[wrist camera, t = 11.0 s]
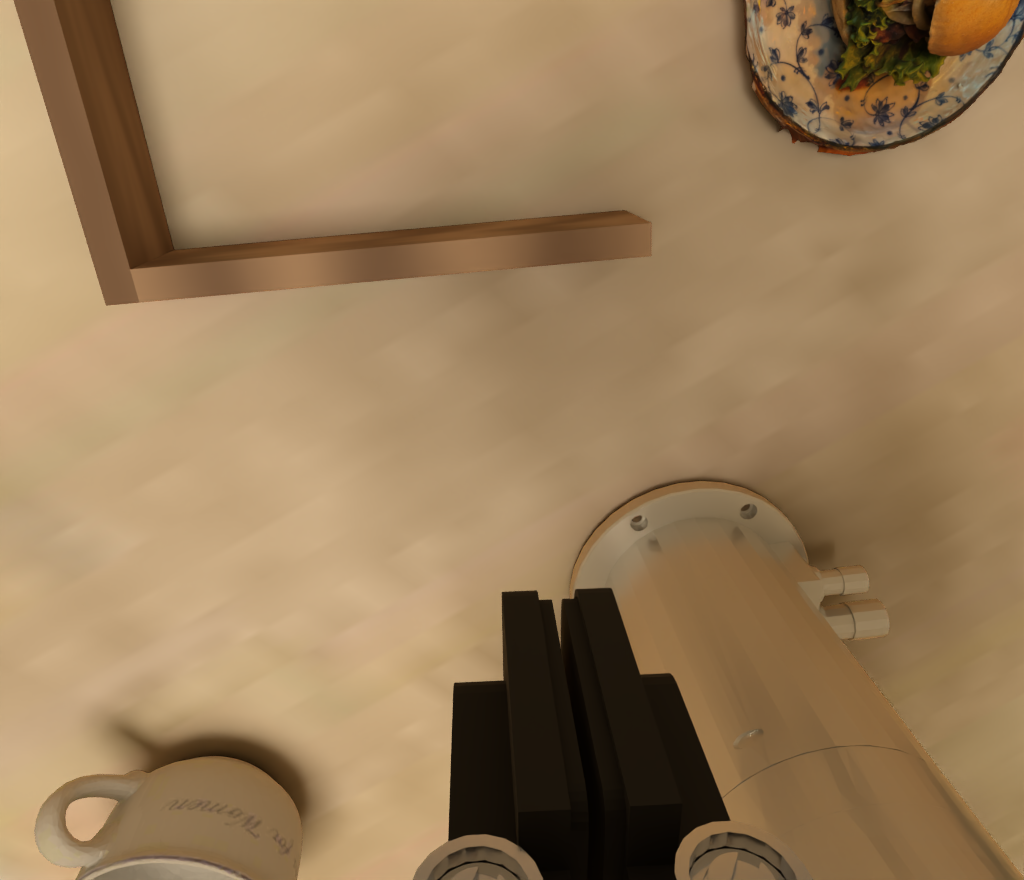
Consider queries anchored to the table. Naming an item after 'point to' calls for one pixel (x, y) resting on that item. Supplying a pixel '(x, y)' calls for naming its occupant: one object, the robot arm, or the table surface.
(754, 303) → the table surface
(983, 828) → the robot arm
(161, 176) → the table surface
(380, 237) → the wooden u-shaped wall
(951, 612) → the table surface
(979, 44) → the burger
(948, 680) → the table surface
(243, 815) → the teacup
